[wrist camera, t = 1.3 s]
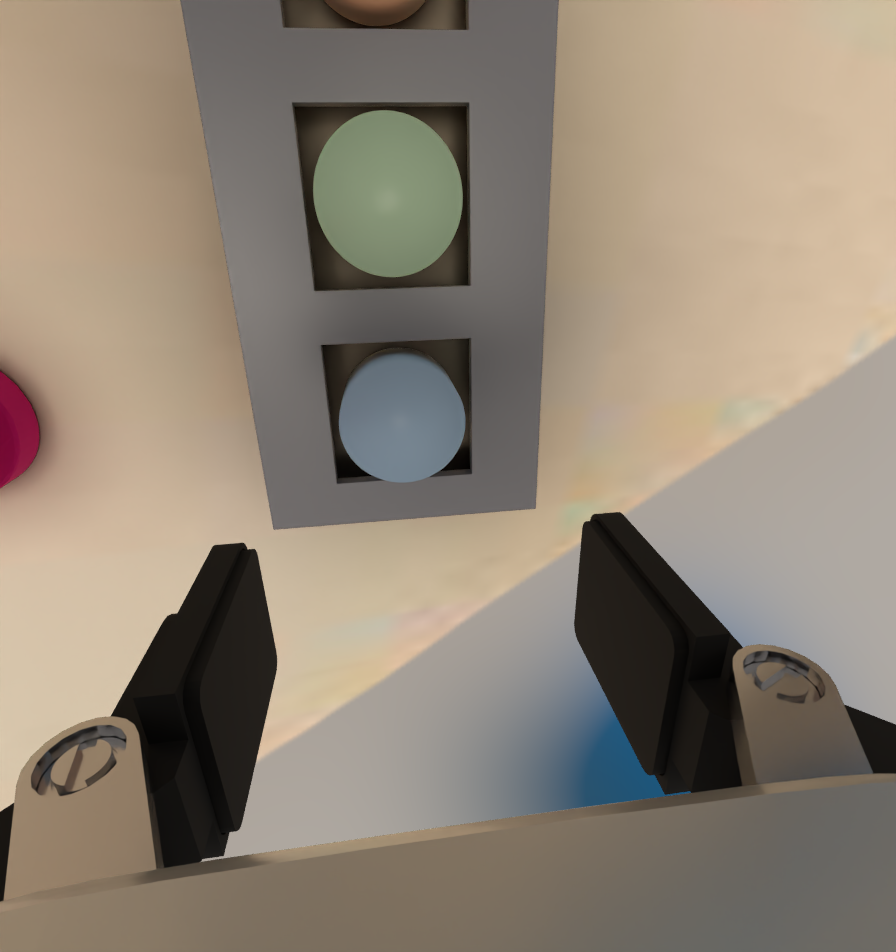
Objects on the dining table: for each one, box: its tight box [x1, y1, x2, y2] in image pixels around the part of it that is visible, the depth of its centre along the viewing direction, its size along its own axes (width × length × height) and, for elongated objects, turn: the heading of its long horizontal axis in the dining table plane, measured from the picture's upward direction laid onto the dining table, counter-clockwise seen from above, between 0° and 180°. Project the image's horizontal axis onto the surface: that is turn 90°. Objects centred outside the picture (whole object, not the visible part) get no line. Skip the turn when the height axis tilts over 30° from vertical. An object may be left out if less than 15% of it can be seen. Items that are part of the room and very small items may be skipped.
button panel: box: [180, 0, 559, 530], centre depth 21 cm, size 26×12×3 cm, turn 1°
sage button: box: [313, 110, 463, 277], centre depth 20 cm, size 5×5×3 cm
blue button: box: [339, 347, 466, 483], centre depth 23 cm, size 5×5×3 cm
